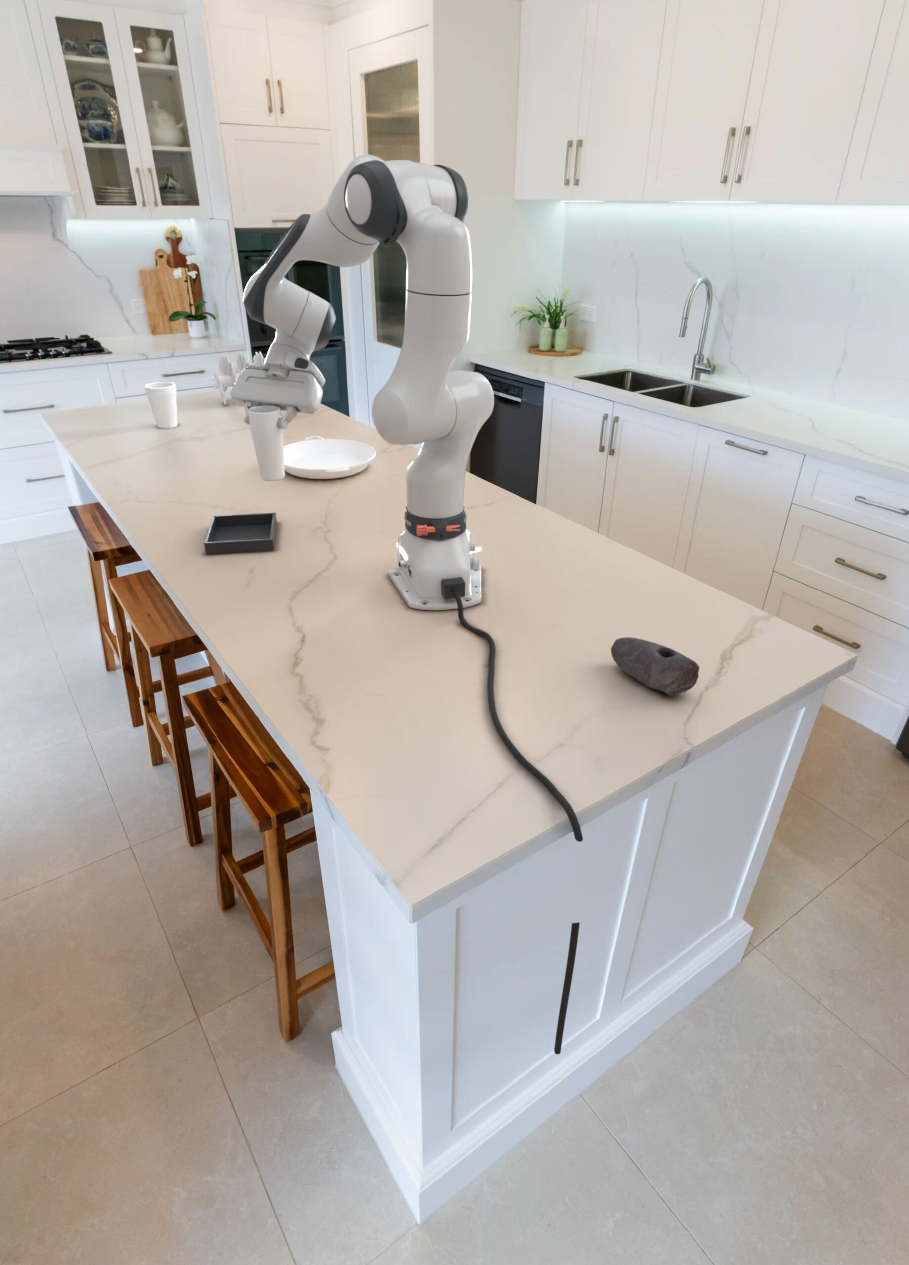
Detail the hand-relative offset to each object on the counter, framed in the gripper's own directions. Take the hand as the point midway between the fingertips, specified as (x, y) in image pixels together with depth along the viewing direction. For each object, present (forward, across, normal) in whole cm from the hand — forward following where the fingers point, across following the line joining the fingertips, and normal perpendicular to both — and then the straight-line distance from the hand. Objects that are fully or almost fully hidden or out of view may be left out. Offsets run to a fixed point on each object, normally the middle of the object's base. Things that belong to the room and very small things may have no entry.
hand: (264, 425), depth 155 cm
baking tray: (+21, -5, +13) cm, 25 cm away
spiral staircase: (-54, -77, +88) cm, 128 cm away
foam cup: (-27, -83, +61) cm, 106 cm away
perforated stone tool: (+38, +88, -3) cm, 95 cm away
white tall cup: (+8, 0, +9) cm, 12 cm away
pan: (-14, -13, +49) cm, 53 cm away
